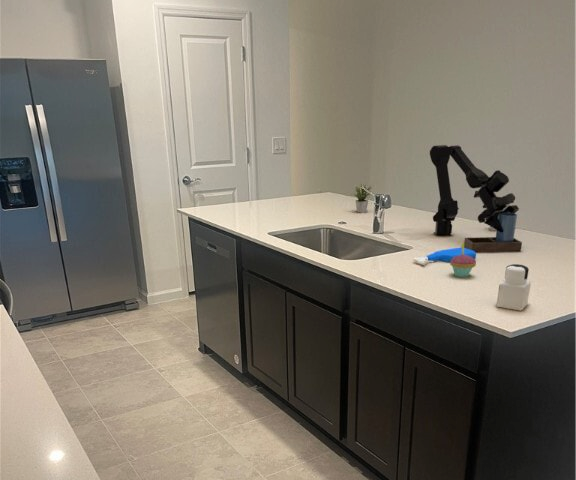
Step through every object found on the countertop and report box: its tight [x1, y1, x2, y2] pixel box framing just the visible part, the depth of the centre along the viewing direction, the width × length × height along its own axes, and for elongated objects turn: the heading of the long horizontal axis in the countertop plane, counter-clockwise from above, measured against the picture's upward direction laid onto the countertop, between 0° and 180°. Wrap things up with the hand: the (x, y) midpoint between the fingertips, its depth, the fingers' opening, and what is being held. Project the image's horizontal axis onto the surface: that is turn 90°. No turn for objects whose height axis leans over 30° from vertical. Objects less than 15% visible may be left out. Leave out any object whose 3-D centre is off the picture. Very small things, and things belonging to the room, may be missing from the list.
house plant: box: [351, 181, 373, 214], centre depth 305 cm, size 14×14×16 cm
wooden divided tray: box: [463, 236, 523, 254], centre depth 223 cm, size 20×10×4 cm, turn 91°
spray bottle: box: [413, 247, 477, 266], centre depth 208 cm, size 3×11×24 cm
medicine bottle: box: [496, 263, 532, 311], centre depth 159 cm, size 7×7×12 cm
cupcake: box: [449, 239, 477, 278], centre depth 188 cm, size 9×8×12 cm
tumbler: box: [495, 213, 518, 243], centre depth 221 cm, size 7×7×13 cm
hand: (508, 230), depth 220 cm, fingers closed on tumbler, 7 cm apart
